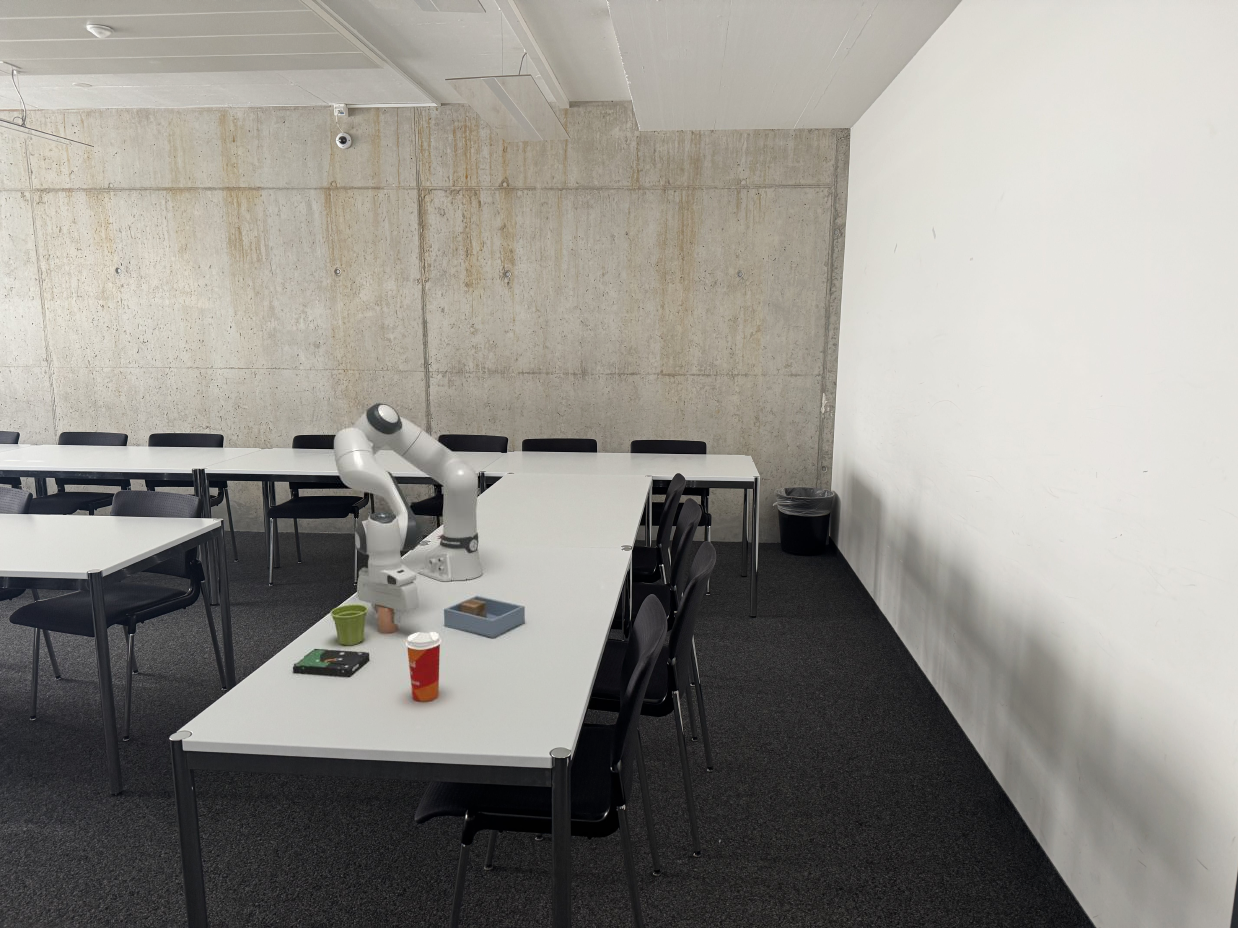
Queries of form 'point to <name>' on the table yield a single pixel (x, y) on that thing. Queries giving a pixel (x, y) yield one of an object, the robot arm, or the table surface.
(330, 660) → the disk drive
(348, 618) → the plant pot
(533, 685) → the table surface
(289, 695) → the table surface
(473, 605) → the walnut cube
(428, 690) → the paper cup
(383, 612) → the terracotta cylinder
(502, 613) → the tote
